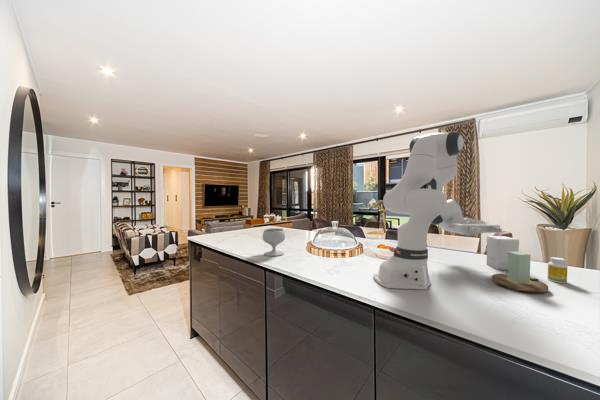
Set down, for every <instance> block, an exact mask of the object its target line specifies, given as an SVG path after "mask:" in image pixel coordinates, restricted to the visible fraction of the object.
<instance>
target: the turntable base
mask: <svg viewBox="0 0 600 400" xmlns="http://www.w3.org/2000/svg"><path fill="white" fill-rule="evenodd" d="M498 285H500V286H502V287H503V288H507V289H510V290H513V291H515V292H516V291H517V292H522V293H527V294H528V293H529V294H540V293H541V292H530V291H523V290H518V289H514V288H510V287H507V286H504V285H501V284H498Z"/></svg>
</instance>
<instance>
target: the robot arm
mask: <svg viewBox="0 0 600 400" xmlns="http://www.w3.org/2000/svg"><path fill="white" fill-rule="evenodd" d="M464 142H465V141H464V137H463V135H462V134H461V132H460V131H449V132H436V133H435V132H434V133H433V132H432V133H428V134H424V135H418V136H415V137H413V138H412V139H411V141H410V142H409V148H408V149H409V157H408V159H407V164H406V167H405V171H404V173H403V175H402V177H401V178H400V179H399V180H398V182H397V184H396V185H394V186H393V188H391V189H389V190H388V191H387V192H385V194H384V195H383V198H382V199H383V200H382V205H383V208H384V209H385V210H386V211H388V212H390V213H394V214H397V215H409V219H408V221H407V222H406V223H403V224H401V225H400V226H399V227H398V228H397V245H396V247H394V246H389V248H388V250H389V252H391V253H393V254H391V256H390V257H388V258H387V259H385V260H384V261H383V262H381V263H380V266H379V269H378V272H377V273H373V279H374V281H375V282H376V283H378V284H379V285H380V286H383V287H384V288H388V289H397V290H398V289H399V290H400V289H401V290H407V289H408V290H423V291H425V290H426V291H427V290H428V287H429V286H430V285H431V284H432V282H431V280H430V275H429V269H428V260H429V259H428V258H429V251H428V250H429V249H428V245H427V244H428V234H429V233H428V232H429V229H430V226H431V225H435V226H437V225H438V226H439V228H441V229H442V230H443V231H446V232H449V233H453V234H455V233H456V234H459V235H462V236H471V235H476V234H484V233H488V234H491V233H492V234H499V233H502V232H503V229H502V228H501V226H500V225H499V224H496V223H492V222H485V221H484V220H481V219H473V218H471V217H464V211H463V207H462V205H461V204H460V203H459V202H458V201H457V200H455V199H452V198H450V199H448V200H447V196H446V195H445V193H444V192H443V191H442V189H443V187H445V186H446V185H447V184H448V183H450V182H451V181H452V180H453V179H454V178H456V176H457V173H458V159H457V155H458V154H460V153H461V151H462V150H463V147H464ZM425 185H426V188H422V187H423V186H425Z"/></svg>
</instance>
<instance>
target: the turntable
mask: <svg viewBox="0 0 600 400" xmlns="http://www.w3.org/2000/svg"><path fill="white" fill-rule="evenodd" d="M507 277H508V273H494V274H492V275H491V280H492V281H493V282H494V283H496V284H498V285H499V284H501V285H504V286H507V287H510V288H514V289H518V290H523V291H530V292H540V293H545V292H547V291H549V285H548V284H546V283H545V282H542V281H540V280H539V278H537V277H530V283H518V282H515V281H512V280H510V279H507ZM501 285H500V286H501Z"/></svg>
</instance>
